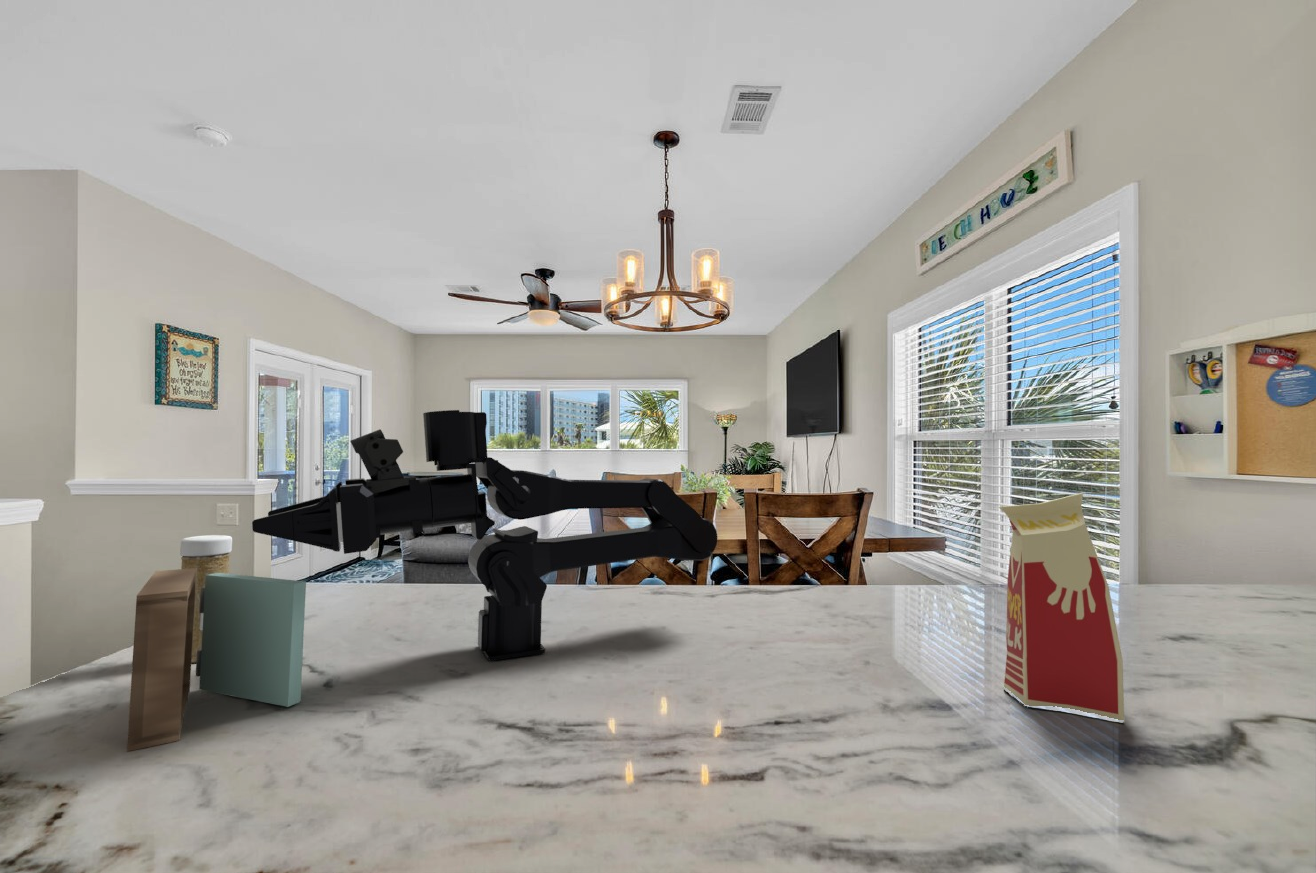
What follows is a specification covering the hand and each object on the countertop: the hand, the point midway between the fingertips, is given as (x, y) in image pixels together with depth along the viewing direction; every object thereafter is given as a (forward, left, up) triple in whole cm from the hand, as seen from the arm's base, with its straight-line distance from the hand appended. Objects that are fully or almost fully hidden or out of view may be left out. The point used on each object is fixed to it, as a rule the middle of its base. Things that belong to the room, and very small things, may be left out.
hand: (261, 520), depth 56 cm
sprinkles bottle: (+7, -12, -16) cm, 22 cm away
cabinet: (+6, +5, -16) cm, 18 cm away
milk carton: (-70, +36, -16) cm, 80 cm away
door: (0, +3, -16) cm, 16 cm away
